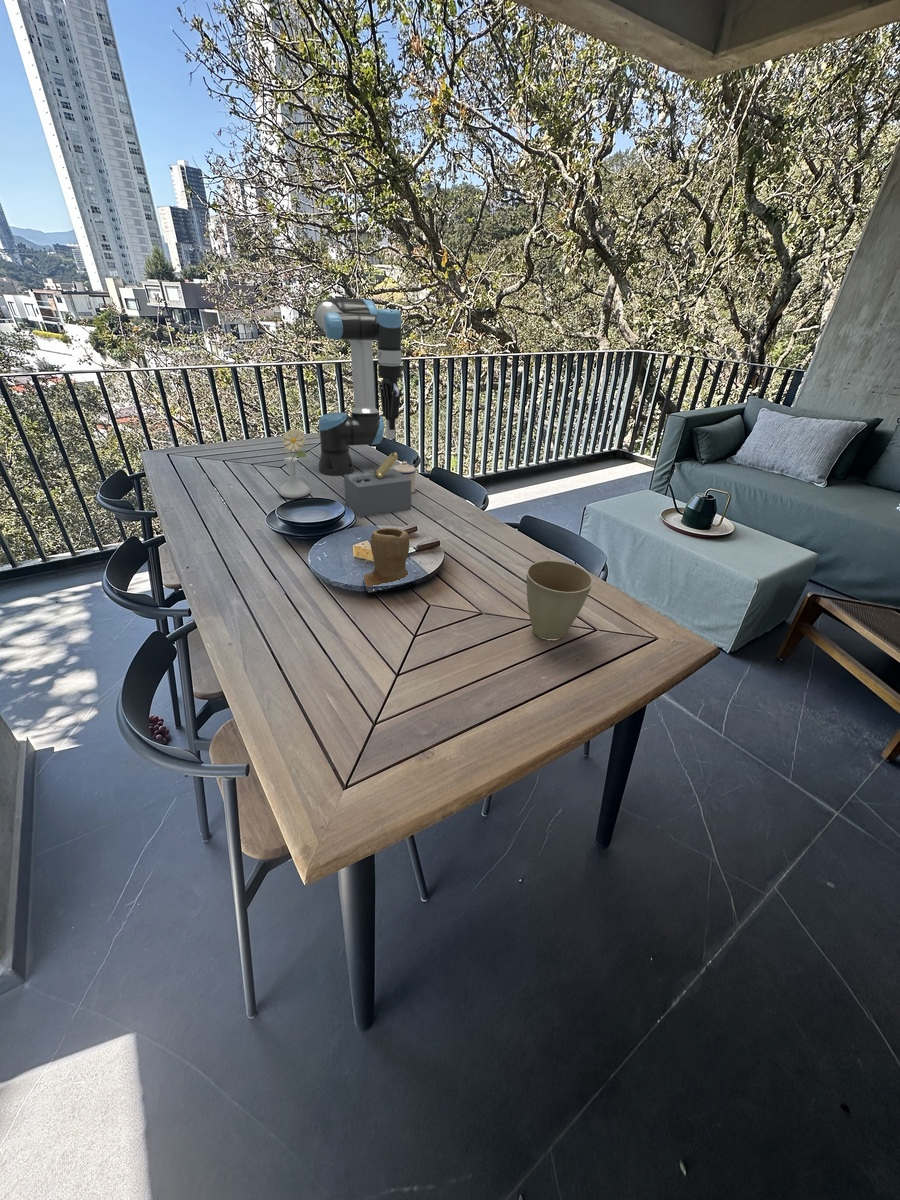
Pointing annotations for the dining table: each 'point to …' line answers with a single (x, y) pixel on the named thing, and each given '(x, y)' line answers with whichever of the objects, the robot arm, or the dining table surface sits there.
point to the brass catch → (386, 465)
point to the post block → (378, 494)
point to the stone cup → (388, 556)
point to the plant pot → (555, 596)
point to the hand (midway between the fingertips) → (390, 438)
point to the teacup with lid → (407, 473)
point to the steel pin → (360, 477)
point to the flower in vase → (293, 465)
